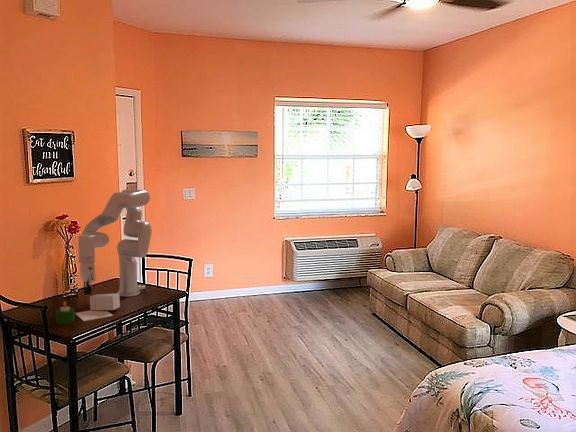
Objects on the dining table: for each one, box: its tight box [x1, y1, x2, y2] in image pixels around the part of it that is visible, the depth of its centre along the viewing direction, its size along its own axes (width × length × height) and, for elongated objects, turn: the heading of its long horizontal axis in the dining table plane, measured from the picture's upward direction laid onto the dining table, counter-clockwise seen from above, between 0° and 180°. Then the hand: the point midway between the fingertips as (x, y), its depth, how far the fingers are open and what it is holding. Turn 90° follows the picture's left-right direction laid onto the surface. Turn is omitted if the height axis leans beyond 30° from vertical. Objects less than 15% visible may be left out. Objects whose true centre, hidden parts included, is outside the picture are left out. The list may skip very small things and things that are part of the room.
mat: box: [75, 310, 114, 322], centre depth 248 cm, size 14×13×1 cm
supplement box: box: [89, 292, 121, 311], centre depth 255 cm, size 7×7×13 cm
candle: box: [55, 300, 76, 325], centre depth 238 cm, size 8×8×10 cm
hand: (87, 294), depth 254 cm, fingers closed
